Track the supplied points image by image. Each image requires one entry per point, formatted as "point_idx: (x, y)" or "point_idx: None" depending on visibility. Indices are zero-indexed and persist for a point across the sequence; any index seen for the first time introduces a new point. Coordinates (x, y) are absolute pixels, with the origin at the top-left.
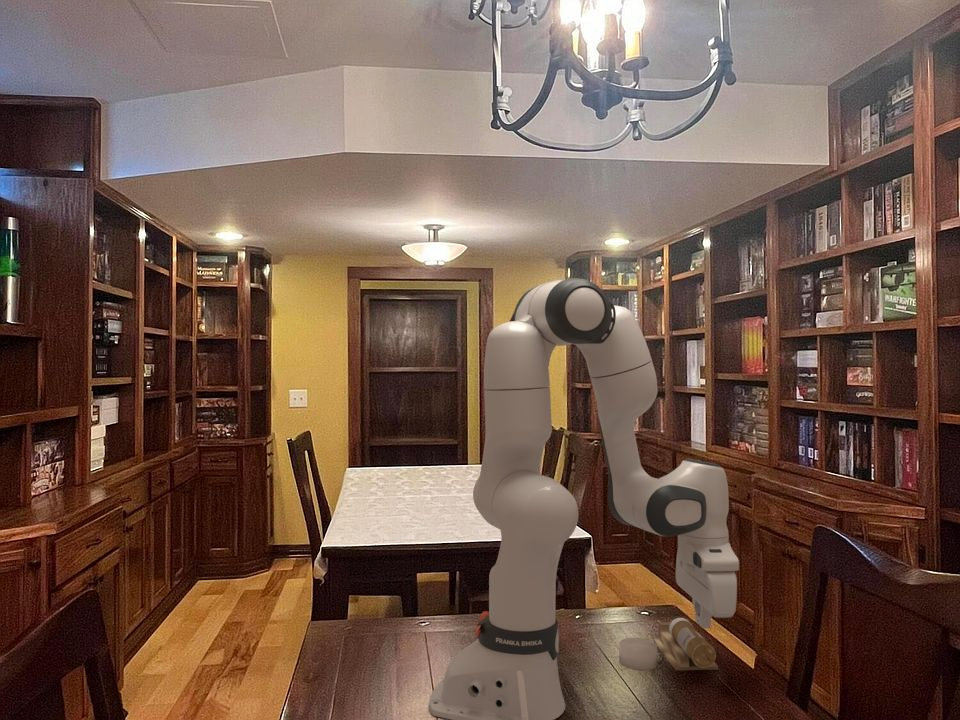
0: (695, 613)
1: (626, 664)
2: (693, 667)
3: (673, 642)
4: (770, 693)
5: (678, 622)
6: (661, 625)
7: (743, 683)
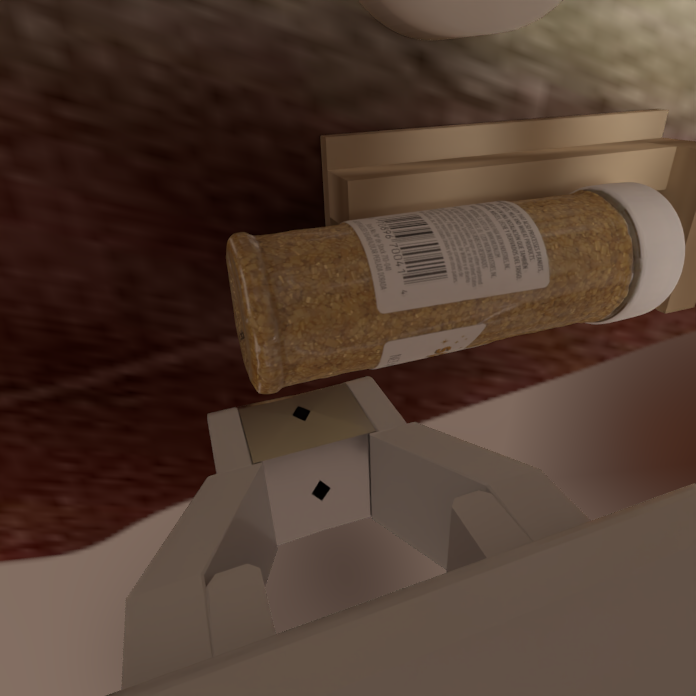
0: (399, 422)
1: None
2: None
3: (538, 184)
4: (99, 514)
5: (635, 248)
6: None
7: (191, 430)
